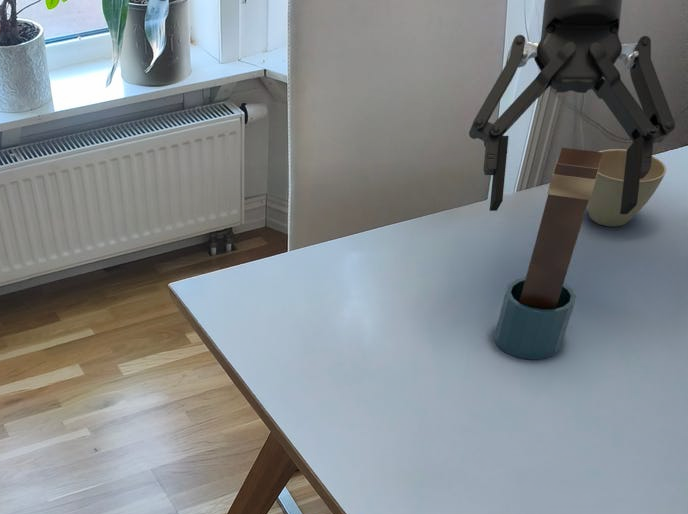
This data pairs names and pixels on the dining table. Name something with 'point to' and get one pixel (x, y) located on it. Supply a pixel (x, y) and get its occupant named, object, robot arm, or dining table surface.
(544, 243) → the dark brown long bar
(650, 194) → the flower pot
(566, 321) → the holder
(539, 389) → the dining table surface
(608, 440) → the dining table surface
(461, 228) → the dining table surface
